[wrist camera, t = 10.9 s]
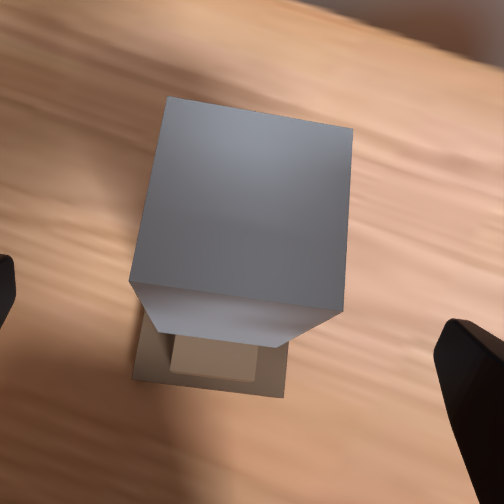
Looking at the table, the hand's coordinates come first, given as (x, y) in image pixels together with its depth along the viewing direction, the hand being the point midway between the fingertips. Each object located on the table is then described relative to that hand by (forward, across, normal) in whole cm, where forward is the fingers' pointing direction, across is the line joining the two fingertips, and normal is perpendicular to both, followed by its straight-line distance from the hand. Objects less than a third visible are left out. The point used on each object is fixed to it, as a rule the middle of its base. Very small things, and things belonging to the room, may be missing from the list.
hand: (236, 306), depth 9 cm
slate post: (+9, 0, +5) cm, 10 cm away
